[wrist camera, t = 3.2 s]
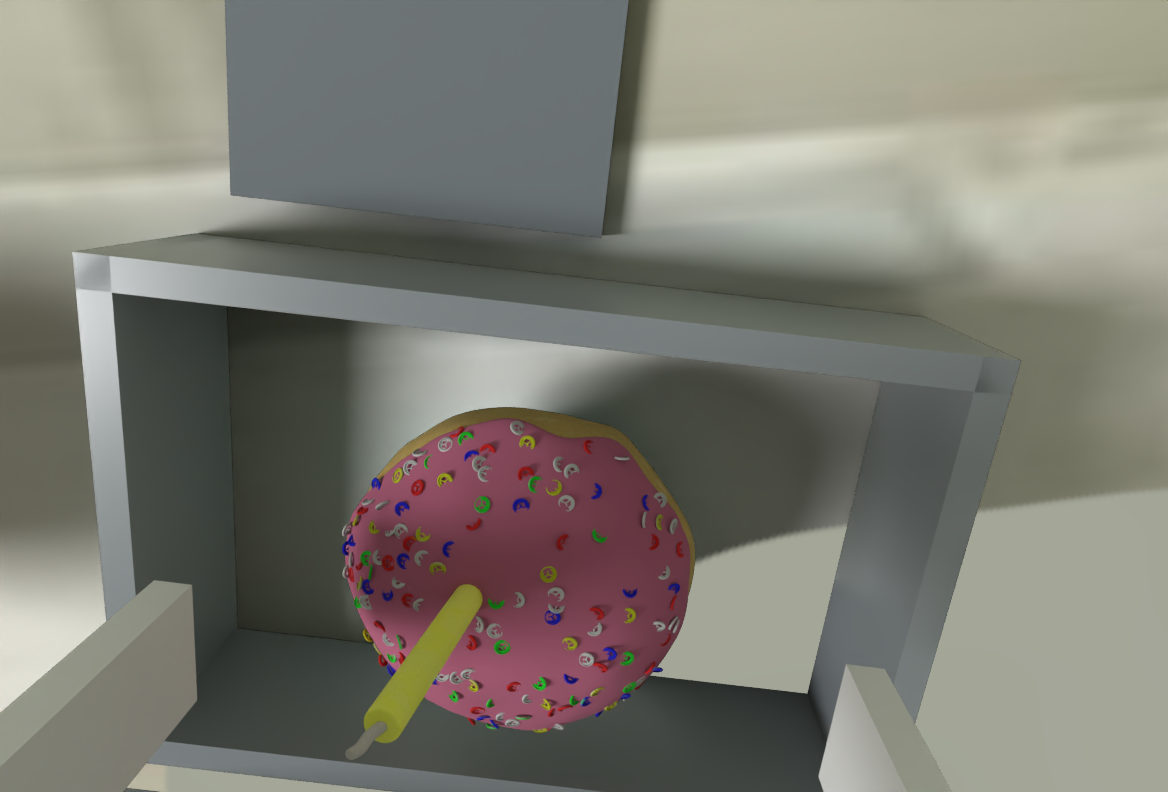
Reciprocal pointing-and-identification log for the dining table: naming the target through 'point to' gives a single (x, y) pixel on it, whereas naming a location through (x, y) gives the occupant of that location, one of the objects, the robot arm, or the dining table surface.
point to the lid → (136, 790)
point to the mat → (428, 107)
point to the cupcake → (516, 571)
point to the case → (535, 313)
